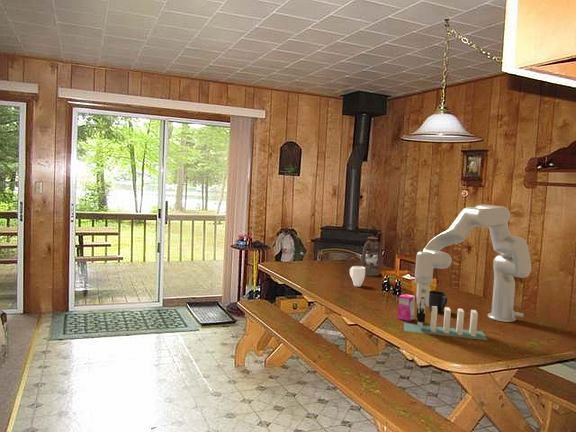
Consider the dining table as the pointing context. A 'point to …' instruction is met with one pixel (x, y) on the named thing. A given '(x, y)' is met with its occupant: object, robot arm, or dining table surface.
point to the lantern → (372, 250)
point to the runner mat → (440, 331)
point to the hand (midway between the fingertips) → (420, 319)
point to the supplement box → (406, 307)
